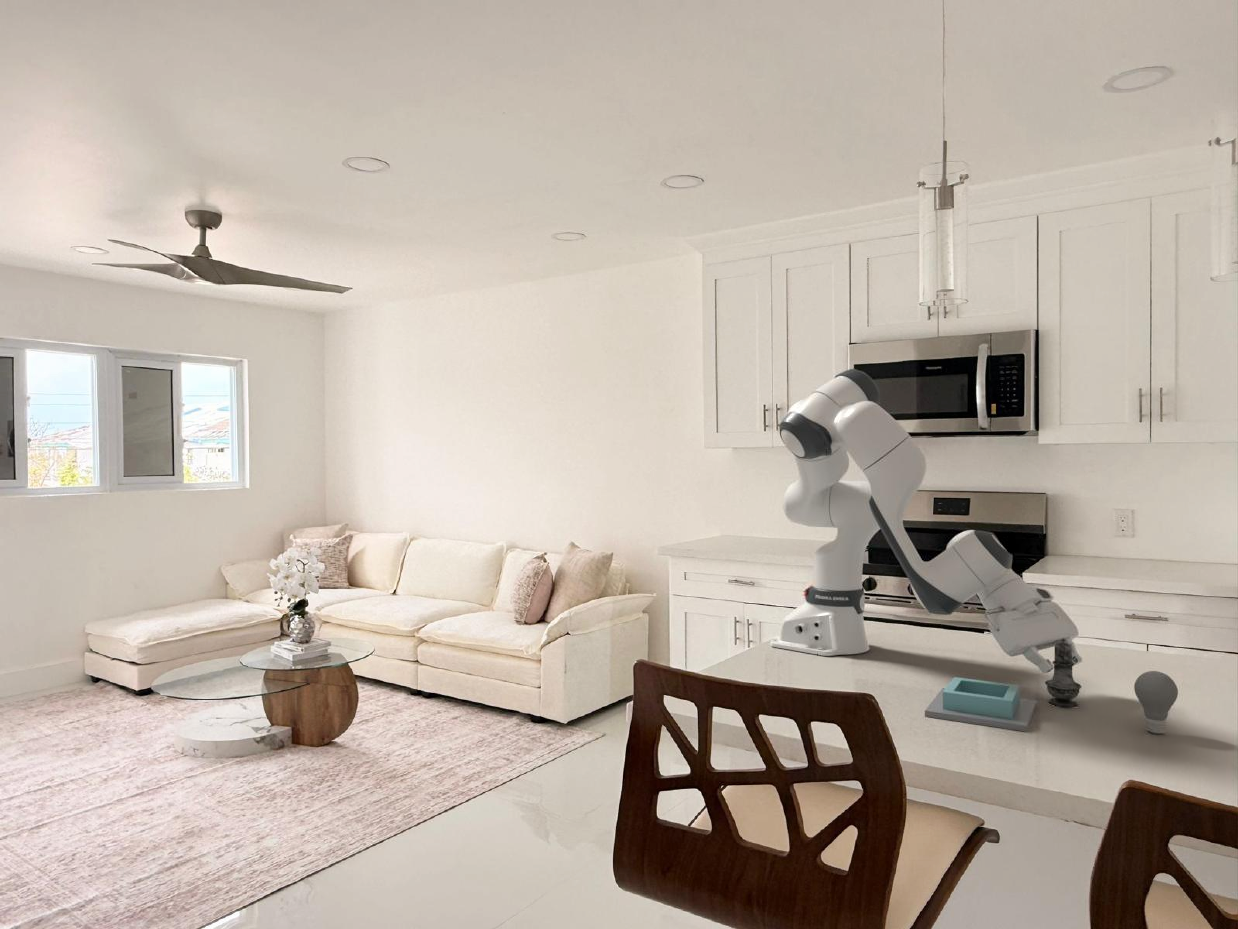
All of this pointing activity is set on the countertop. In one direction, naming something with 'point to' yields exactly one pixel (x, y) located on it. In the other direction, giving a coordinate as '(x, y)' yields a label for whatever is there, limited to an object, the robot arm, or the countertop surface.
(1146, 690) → the light bulb
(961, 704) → the socket
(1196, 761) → the countertop surface
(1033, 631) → the robot arm
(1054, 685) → the salt shaker
